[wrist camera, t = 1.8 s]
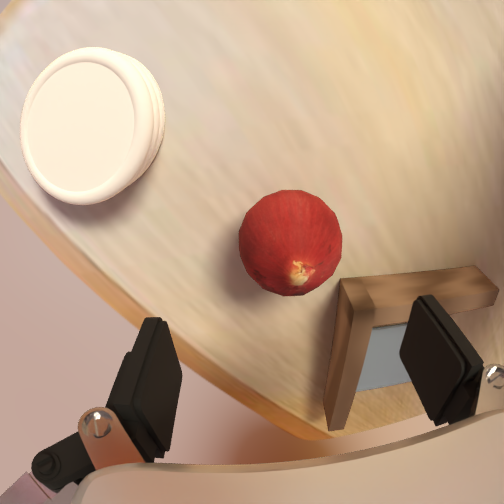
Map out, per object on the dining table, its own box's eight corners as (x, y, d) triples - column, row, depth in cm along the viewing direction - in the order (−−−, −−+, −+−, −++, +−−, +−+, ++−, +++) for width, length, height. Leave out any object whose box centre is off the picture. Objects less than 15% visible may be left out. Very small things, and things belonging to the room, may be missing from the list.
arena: (475, 265, 22) (499, 289, 19) (430, 381, 29) (441, 406, 26) (340, 278, 23) (354, 310, 19) (322, 401, 30) (328, 431, 26)
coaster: (27, 116, 17) (-2, 122, 14) (120, 25, 14) (97, 14, 11) (90, 216, 21) (67, 235, 17) (196, 138, 18) (184, 145, 15)
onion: (322, 256, 22) (352, 330, 15) (242, 258, 22) (237, 334, 15) (329, 177, 19) (372, 222, 12) (240, 177, 19) (232, 223, 12)
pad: (438, 318, 25) (439, 319, 24) (414, 378, 29) (415, 380, 29) (353, 330, 25) (354, 332, 25) (340, 391, 29) (341, 393, 29)
